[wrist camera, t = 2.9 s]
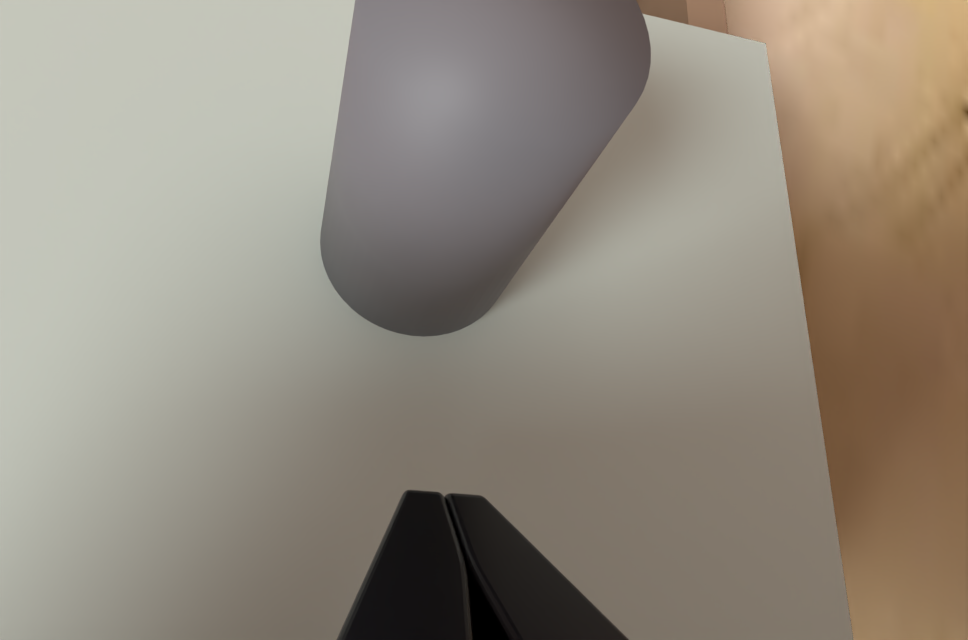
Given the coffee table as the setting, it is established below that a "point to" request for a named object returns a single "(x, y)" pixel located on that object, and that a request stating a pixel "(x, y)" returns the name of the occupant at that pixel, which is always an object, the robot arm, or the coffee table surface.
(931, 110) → the coffee table surface
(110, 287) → the box lid
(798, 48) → the coffee table surface
